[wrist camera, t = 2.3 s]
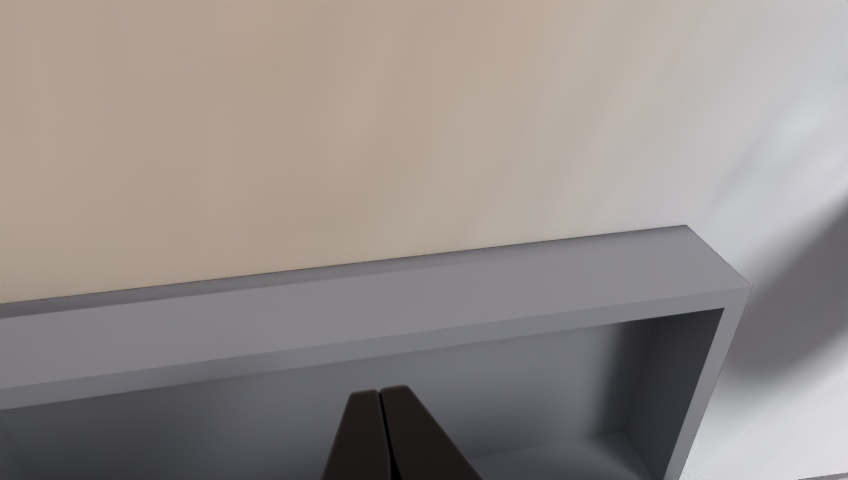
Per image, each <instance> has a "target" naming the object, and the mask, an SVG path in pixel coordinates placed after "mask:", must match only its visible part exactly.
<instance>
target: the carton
mask: <svg viewBox="0 0 848 480" xmlns="http://www.w3.org/2000/svg"><path fill="white" fill-rule="evenodd" d="M752 287H753V286H752V285H751V284H750V283H749V282H748V281H747V280H746V279H745V278H743V277H742V276H741V275H740V274H739V273H738V272H737V271H736V270H735V269H734V268H733V267H732V266H730V265H729V264H728V263H727V262H726V261H725V260H724V259H723V258H722V257H721V256H720V255H719V254H717V253H716V252H715V251H714V250H713V249H712V248H711V247H710V246H709V245H708V244H707V243H706V242H704V241H703V240H702V239H701V238H700V237H699V236H698V235H697V234H696V233H695V232H694V231H693V230H692V229H690V228H689V227H688V226H687V225H681V226H672V227H663V228H655V229H646V230H637V231H629V232H620V233H611V234H603V235H594V236H585V237H577V238H568V239H559V240H551V241H542V242H534V243H525V244H516V245H508V246H499V247H490V248H482V249H473V250H464V251H456V252H447V253H438V254H430V255H421V256H412V257H404V258H395V259H386V260H378V261H369V262H360V263H352V264H343V265H334V266H326V267H317V268H308V269H300V270H291V271H282V272H274V273H265V274H256V275H248V276H239V277H231V278H222V279H213V280H205V281H196V282H187V283H179V284H170V285H161V286H153V287H144V288H135V289H127V290H118V291H109V292H101V293H92V294H83V295H75V296H66V297H57V298H49V299H40V300H31V301H23V302H14V303H5V304H0V480H321V477H322V474H323V471H324V468H325V465H326V462H327V459H328V456H329V453H330V450H331V447H332V444H333V441H334V438H335V435H336V432H337V429H338V426H339V423H340V420H341V418H342V415H343V412H344V409H345V406H346V403H347V400H348V397H349V395H350V394H351V393H352V392H355V391H362V390H368V389H376V390H378V391H379V392H380V390H381V389H382V388H383V387H388V386H395V385H402V384H405V385H407V386H409V387H410V388H411V389H412V390H413V392H414V393H415V394H416V395H417V397H418V398H419V399H420V400H421V402H422V403H423V404H424V405H425V407H426V408H427V409H428V410H429V412H430V413H431V414H432V415H433V417H434V418H435V419H436V420H437V422H438V423H439V424H440V425H441V427H442V428H443V429H444V430H445V431H446V433H447V434H448V435H449V436H450V438H451V439H452V440H453V441H454V443H455V444H456V445H457V446H458V448H459V449H460V450H461V451H462V453H463V454H464V455H465V456H466V458H467V459H468V460H469V461H470V463H471V464H472V465H473V466H474V468H475V469H476V470H477V471H478V472H479V474H480V475H481V476H482V477H483V479H484V480H679V478H680V475H681V473H682V470H683V468H684V465H685V462H686V460H687V457H688V454H689V452H690V449H691V447H692V444H693V441H694V439H695V436H696V434H697V431H698V428H699V426H700V423H701V420H702V418H703V415H704V413H705V410H706V407H707V405H708V402H709V399H710V397H711V394H712V392H713V389H714V386H715V384H716V381H717V379H718V376H719V373H720V371H721V368H722V365H723V363H724V360H725V358H726V355H727V352H728V350H729V347H730V345H731V342H732V339H733V337H734V334H735V331H736V329H737V326H738V324H739V321H740V318H741V316H742V313H743V310H744V308H745V305H746V303H747V300H748V297H749V295H750V292H751V290H752Z"/></svg>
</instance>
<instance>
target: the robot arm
mask: <svg viewBox="0 0 848 480" xmlns="http://www.w3.org/2000/svg"><path fill="white" fill-rule="evenodd" d="M321 480H484V479H483V477H482V476H481V475H480V474H479V472H478V471H477V470H476V469H475V468H474V466H473V465H472V464H471V463H470V461H469V460H468V459H467V458H466V456H465V455H464V454H463V453H462V451H461V450H460V449H459V448H458V446H457V445H456V444H455V443H454V441H453V440H452V439H451V438H450V436H449V435H448V434H447V433H446V431H445V430H444V429H443V428H442V427H441V425H440V424H439V423H438V422H437V420H436V419H435V418H434V417H433V415H432V414H431V413H430V412H429V410H428V409H427V408H426V407H425V405H424V404H423V403H422V402H421V400H420V399H419V398H418V397H417V395H416V394H415V393H414V392H413V390H412V389H411V388H410V387H409V386H407V385H405V384H402V385H395V386H388V387H383V388H382V389H381V390H380V392H379V391H378V390H376V389H368V390H362V391H355V392H352V393H351V394H350V395H349V397H348V400H347V403H346V406H345V409H344V412H343V415H342V418H341V420H340V423H339V426H338V429H337V432H336V435H335V438H334V441H333V444H332V447H331V450H330V453H329V456H328V459H327V462H326V465H325V468H324V471H323V474H322V477H321Z"/></svg>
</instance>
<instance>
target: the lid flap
mask: <svg viewBox="0 0 848 480" xmlns="http://www.w3.org/2000/svg"><path fill="white" fill-rule="evenodd" d="M799 480H848V473H842V474H835V475H828V476H820V477H813V478H806V479H799Z"/></svg>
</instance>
